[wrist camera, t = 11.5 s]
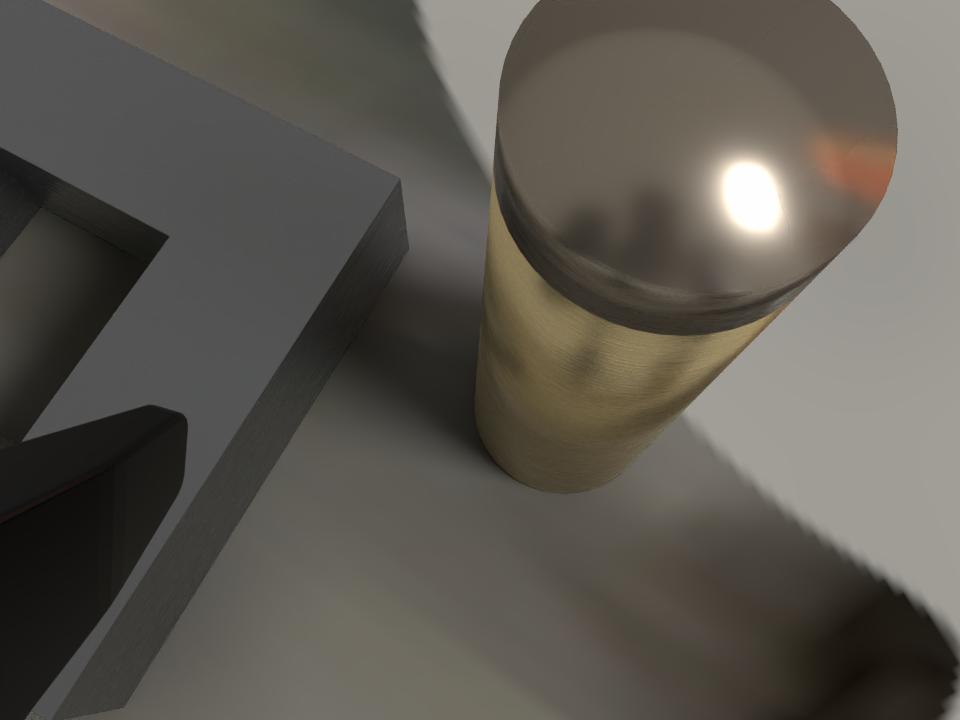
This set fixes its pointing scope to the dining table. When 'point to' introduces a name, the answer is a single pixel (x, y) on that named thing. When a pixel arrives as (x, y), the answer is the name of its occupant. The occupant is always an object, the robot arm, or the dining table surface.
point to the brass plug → (660, 211)
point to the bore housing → (186, 287)
